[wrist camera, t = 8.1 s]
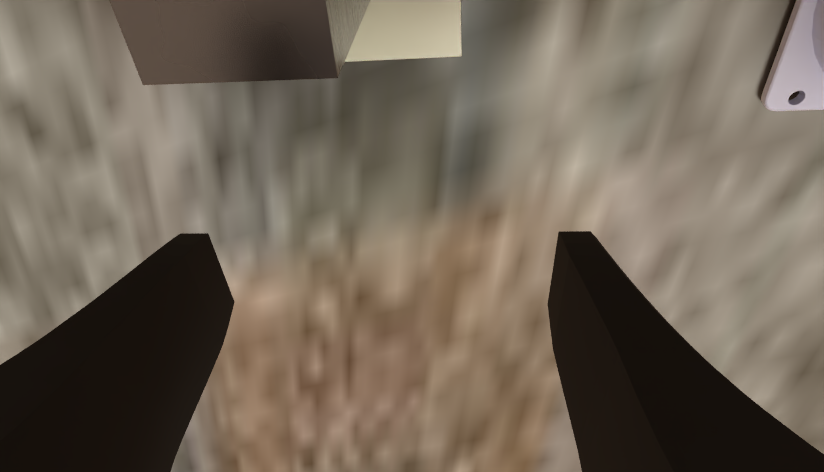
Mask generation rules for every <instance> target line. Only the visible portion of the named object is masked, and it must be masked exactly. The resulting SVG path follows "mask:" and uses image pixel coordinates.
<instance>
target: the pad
mask: <svg viewBox="0 0 824 472" xmlns="http://www.w3.org/2000/svg"><path fill="white" fill-rule="evenodd" d="M456 56H461V0H370V2H369V5H368V7H367V10H366V12H365V14H364V17H363V19H362V21H361V24H360V26H359V29H358V31H357V33H356V36H355V38H354V40H353V43H352V45H351V48H350V50H349V52H348V55H347V57H346V59H345V62H350V61H371V60H392V59H414V58H435V57H456Z"/></svg>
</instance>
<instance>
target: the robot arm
mask: <svg viewBox="0 0 824 472" xmlns="http://www.w3.org/2000/svg"><path fill="white" fill-rule="evenodd" d="M796 91H799V94H798V95H797V97H795V98H794V99H791V100H788V99H789V97H790V95H791V94H793V93H794V92H796ZM761 101H762V104H763V105H764V106H765V107H766V108H767V109H769V110H771V111H797V110H824V0H796V3H795V5H794V8H793V11H792V13H791V16H790V19H789V22H788V24H787V27H786V30H785V33H784V35H783V38H782V41H781V43H780V46H779V49H778V52H777V54H776V57H775V60H774V63H773V65H772V68H771V71H770V73H769V76H768V79H767V82H766V84H765V87H764V90H763V93H762V96H761ZM233 306H234V300H233V297H232V295H231V292H230V289H229V287H228V284H227V282H226V279H225V276H224V274H223V271H222V268H221V266H220V263H219V261H218V258H217V255H216V253H215V250H214V248H213V245H212V242H211V240H210V237H209V235H208V234H179V235H178V236H176V237H175V238H173V239H172V240H171V241H169V242H168V243H166V244H165V245H164V246H162V247H161V248H160V249H159V250H157V251H156V252H155V253H153V254H152V255H151V256H150V257H148V258H147V259H146V260H144V261H143V262H142V263H141V264H139V265H138V266H137V267H136V268H134V269H133V270H132V271H131V272H129V273H128V274H127V275H126V276H124V277H123V278H122V279H120V280H119V281H118V282H117V283H115V284H114V285H113V286H111V287H110V288H109V289H108V290H106V291H105V292H104V293H102V294H101V295H100V296H99V297H97V298H96V299H95V300H93V301H92V302H91V303H89V304H88V305H87V306H85V307H84V308H82V309H81V310H80V311H78V312H77V313H76V314H74V315H73V316H71V317H70V318H69V319H67V320H66V321H65V322H63V323H62V324H60V325H59V326H58V327H56V328H55V329H54V330H52V331H51V332H49V333H48V334H47V335H45V336H44V337H42V338H41V339H39V340H38V341H36V342H35V343H34V344H32V345H31V346H29V347H28V348H26V349H24V350H23V351H21V352H20V353H18V354H17V355H15V356H14V357H12V358H10V359H9V360H7V361H6V362H4V363H2V364H1V365H0V472H170V471H171V468H172V465H173V462H174V459H175V456H176V454H177V451H178V449H179V446H180V443H181V441H182V438H183V436H184V434H185V432H186V429H187V427H188V425H189V422H190V420H191V418H192V415H193V413H194V411H195V409H196V406H197V404H198V402H199V399H200V397H201V395H202V393H203V390H204V388H205V386H206V383H207V381H208V379H209V376H210V374H211V372H212V369H213V367H214V365H215V362H216V360H217V358H218V355H219V353H220V350H221V348H222V345H223V342H224V339H225V335H226V332H227V329H228V325H229V321H230V317H231V313H232V309H233ZM548 310H549V319H550V328H551V336H552V344H553V351H554V355H555V359H556V363H557V367H558V372H559V376H560V380H561V384H562V388H563V392H564V396H565V400H566V404H567V408H568V412H569V416H570V420H571V424H572V429H573V433H574V437H575V441H576V445H577V449H578V453H579V458H580V463H581V468H582V472H824V454H823V453H821V452H820V451H818V450H817V449H816V448H814V447H813V446H811V445H810V444H809V443H807V442H806V441H805V440H803V439H802V438H801V437H799V436H798V435H797V434H795V433H794V432H793V431H791V430H790V429H789V428H787V427H786V426H785V425H783V424H782V423H781V422H780V421H778V420H777V419H776V418H774V417H773V416H772V415H770V414H769V413H768V412H766V411H765V410H764V409H763V408H761V407H760V406H759V405H758V404H756V403H755V402H754V401H753V400H751V399H750V398H749V397H748V396H746V395H745V394H744V393H743V392H742V391H740V390H739V389H738V388H737V387H736V386H735V385H734V384H732V383H731V382H730V381H729V380H728V379H727V378H726V377H724V376H723V375H722V374H721V373H720V372H719V371H717V370H716V369H715V368H714V367H713V366H712V365H711V364H710V363H709V362H707V361H706V360H705V359H704V358H703V357H702V356H701V355H700V354H699V353H698V352H697V351H696V350H695V349H694V348H693V347H692V346H691V345H690V344H689V343H688V342H687V341H686V340H685V339H684V338H683V337H682V336H681V335H680V334H679V333H678V332H677V331H676V330H675V329H674V328H673V327H672V326H671V325H670V324H669V323H668V322H667V321H666V320H665V319H664V318H663V316H662V315H661V314H660V313H659V312H658V311H657V310H656V309H655V308H654V307H653V305H652V304H651V303H650V302H649V301H648V300H647V299H646V298H645V297H644V295H643V294H642V293H641V292H640V291H639V290H638V289H637V287H636V286H635V285H634V284H633V283H632V282H631V280H630V279H629V278H628V277H627V276H626V274H625V273H624V272H623V271H622V270H621V268H620V267H619V266H618V265H617V263H616V262H615V261H614V260H613V258H612V257H611V256H610V255H609V253H608V252H607V251H606V250H605V248H604V247H603V246H602V245H601V243H600V242H599V241H598V239H597V238H596V237H595V236H594V235H593V234H592V233H591V232H590V231H586V232H559V233H558V240H557V246H556V253H555V259H554V266H553V273H552V279H551V286H550V292H549V299H548Z"/></svg>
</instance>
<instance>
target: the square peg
mask: <svg viewBox="0 0 824 472" xmlns="http://www.w3.org/2000/svg"><path fill="white" fill-rule="evenodd" d="M109 1H110V3H111V6H112V8H113V11H114V13H115V16H116V18H117V21H118V23H119V26H120V28H121V31H122V33H123V36H124V38H125V41H126V43H127V46H128V48H129V51H130V53H131V56H132V58H133V61H134V63H135V66H136V68H137V71H138V73H139V76H140V78H141V81H142V84H143V85H156V84H184V83H212V82H240V81H268V80H296V79H324V78H338V76H339V74H340V71H341V69H342V67H343V64H344V62H345V59H346V57H347V55H348V52H349V50H350V48H351V45H352V43H353V40H354V38H355V36H356V33H357V31H358V29H359V26H360V24H361V21H362V19H363V17H364V14H365V12H366V10H367V7H368V5H369V2H370V0H109Z"/></svg>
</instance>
